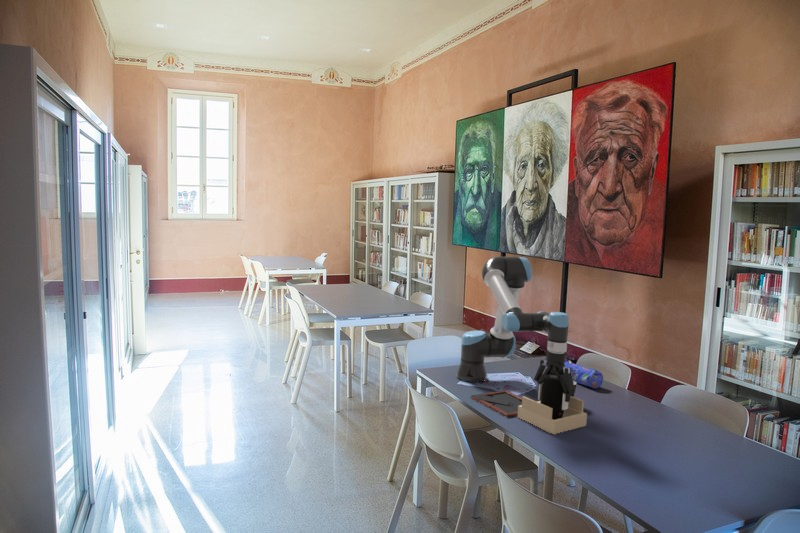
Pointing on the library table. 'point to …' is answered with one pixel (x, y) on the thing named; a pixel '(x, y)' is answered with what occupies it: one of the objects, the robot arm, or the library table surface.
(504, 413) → the picture frame
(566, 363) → the pencil case
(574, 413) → the carton
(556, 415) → the portable speaker
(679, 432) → the library table surface
